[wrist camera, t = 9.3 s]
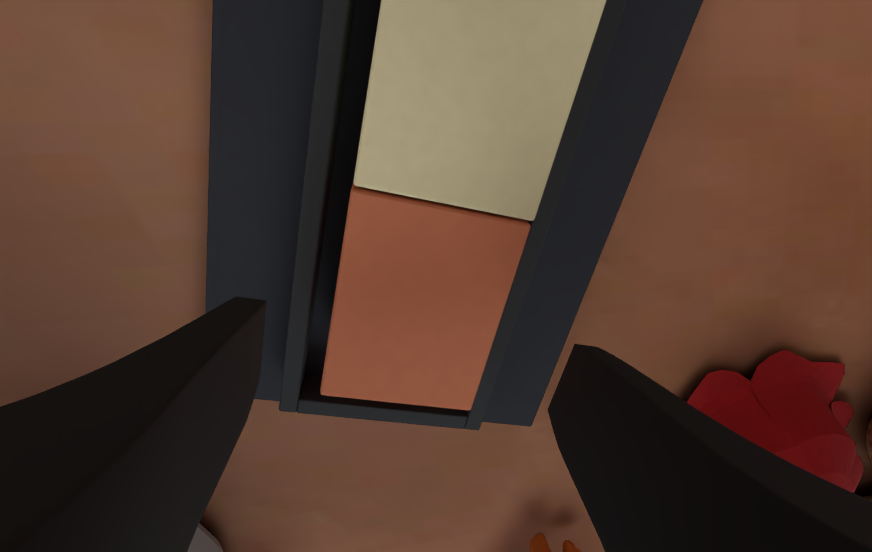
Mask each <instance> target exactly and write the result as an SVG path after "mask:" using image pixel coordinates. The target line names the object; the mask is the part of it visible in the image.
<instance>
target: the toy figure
mask: <svg viewBox="0 0 872 552" xmlns="http://www.w3.org/2000/svg"><path fill="white" fill-rule="evenodd" d="M563 551H564V552H581V551H580V550H579V549H577V548H576V547H575V545H574V544H573V543H572V542H571V541H569V540H565V541H564V543H563ZM530 552H551V550H550V548H549V546H548V543H547V541H546V539H545V537H544V535H543V534H541V533H538V534H537V535H536V536H535V537H534V538H533V539H531V542H530Z"/></svg>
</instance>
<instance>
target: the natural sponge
mask: <svg viewBox="0 0 872 552" xmlns="http://www.w3.org/2000/svg"><path fill="white" fill-rule="evenodd" d="M866 448H867V452H868V456H869V458H870V460H871V463H872V419H871V420H870V423H869V426H868V430H867V434H866Z"/></svg>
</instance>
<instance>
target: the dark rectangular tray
mask: <svg viewBox="0 0 872 552" xmlns="http://www.w3.org/2000/svg"><path fill="white" fill-rule="evenodd" d="M702 2H703V0H606V3H605V6H604V9H603V12H602V15H601V18H600V21H599V24H598V28H597V31H596V34H595V37H594V40H593V43H592V46H591V49H590V52H589V55H588V58H587V61H586V64H585V67H584V70H583V73H582V76H581V79H580V82H579V85H578V88H577V91H576V94H575V98H574V101H573V104H572V107H571V110H570V113H569V116H568V119H567V122H566V125H565V128H564V131H563V134H562V137H561V140H560V143H559V146H558V149H557V152H556V155H555V158H554V161H553V164H552V168H551V171H550V174H549V177H548V180H547V183H546V186H545V189H544V192H543V195H542V198H541V201H540V204H539V207H538V210H537V213H536V216H535V219H534V220H532V221H529V220H526V221H527V222H528V223H529V224H530V230H529V233H528V237H527V240H526V243H525V246H524V249H523V252H522V255H521V258H520V261H519V264H518V267H517V270H516V273H515V276H514V279H513V282H512V285H511V288H510V292H509V295H508V298H507V301H506V304H505V307H504V310H503V313H502V316H501V319H500V322H499V325H498V328H497V331H496V334H495V337H494V340H493V343H492V347H491V350H490V353H489V356H488V359H487V362H486V365H485V368H484V371H483V374H482V377H481V380H480V383H479V386H478V389H477V392H476V395H475V399H474V402H473V405H472V408H471V410H460V409H450V408H441V407H431V406H421V405H412V404H402V403H393V402H383V401H374V400H364V399H355V398H345V397H336V396H326V395H321V392H320V389H321V382H322V376H323V369H324V363H325V356H326V349H327V343H328V336H329V330H330V323H331V317H332V310H333V304H334V297H335V290H336V284H337V277H338V271H339V264H340V258H341V251H342V244H343V238H344V231H345V225H346V218H347V212H348V205H349V199H350V192H351V189H352V185H353V181H354V174H355V168H356V161H357V155H358V148H359V142H360V135H361V129H362V122H363V116H364V109H365V103H366V96H367V90H368V83H369V77H370V70H371V64H372V57H373V51H374V44H375V38H376V31H377V25H378V18H379V12H380V5H381V0H213V17H212V61H211V104H210V147H209V190H208V233H207V276H206V313H208V312H209V311H211V310H213V309H214V308H216V307H218V306H220V305H221V304H223V303H225V302H226V301H228V300H230V299H232V298H234V297H236V296H237V297H245V298H252V299H259V300H266V313H265V325H264V337H263V348H262V360H261V372H260V380H259V384H258V387H257V390H256V393H255V396H254V399H262V400H272V401H280V404H279V410H280V411H286V412H296V411H297V413H304V414H315V415H325V416H335V417H346V418H356V419H367V420H377V421H387V422H398V423H408V424H419V425H429V426H440V427H450V428H460V429H463V428H465V429H471V430H479V428H480V426H481V423H482V422H491V423H501V424H511V425H521V426H531V425H532V423H533V420H534V418H535V416H536V413H537V411H538V408H539V406H540V403H541V401H542V398H543V396H544V393H545V391H546V388H547V386H548V383H549V381H550V378H551V376H552V373H553V371H554V368H555V366H556V364H557V361H558V359H559V356H560V354H561V351H562V349H563V346H564V344H565V341H566V339H567V336H568V334H569V331H570V329H571V326H572V324H573V321H574V319H575V316H576V314H577V311H578V309H579V307H580V304H581V302H582V299H583V297H584V294H585V292H586V289H587V287H588V284H589V282H590V279H591V277H592V274H593V272H594V269H595V267H596V264H597V262H598V259H599V257H600V255H601V252H602V250H603V247H604V245H605V242H606V240H607V237H608V235H609V232H610V230H611V227H612V225H613V222H614V220H615V217H616V215H617V212H618V210H619V207H620V205H621V202H622V200H623V198H624V195H625V193H626V190H627V188H628V185H629V183H630V180H631V178H632V175H633V173H634V170H635V168H636V165H637V163H638V160H639V158H640V155H641V153H642V150H643V148H644V146H645V143H646V141H647V138H648V136H649V133H650V131H651V128H652V126H653V123H654V121H655V118H656V116H657V113H658V111H659V108H660V106H661V103H662V101H663V98H664V96H665V93H666V91H667V89H668V86H669V84H670V81H671V79H672V76H673V74H674V71H675V69H676V66H677V64H678V61H679V59H680V56H681V54H682V51H683V49H684V46H685V44H686V41H687V39H688V37H689V34H690V32H691V29H692V27H693V24H694V22H695V19H696V17H697V14H698V12H699V9H700V7H701V4H702Z"/></svg>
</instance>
